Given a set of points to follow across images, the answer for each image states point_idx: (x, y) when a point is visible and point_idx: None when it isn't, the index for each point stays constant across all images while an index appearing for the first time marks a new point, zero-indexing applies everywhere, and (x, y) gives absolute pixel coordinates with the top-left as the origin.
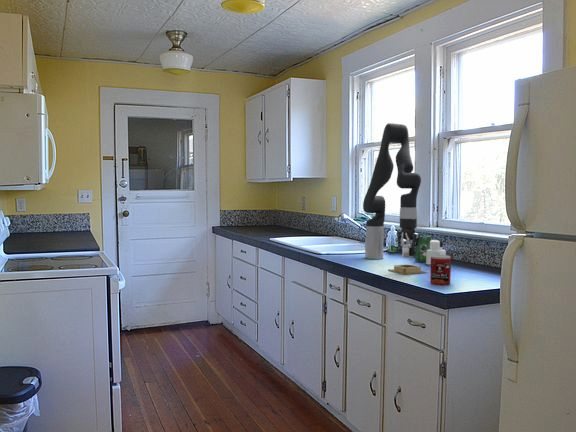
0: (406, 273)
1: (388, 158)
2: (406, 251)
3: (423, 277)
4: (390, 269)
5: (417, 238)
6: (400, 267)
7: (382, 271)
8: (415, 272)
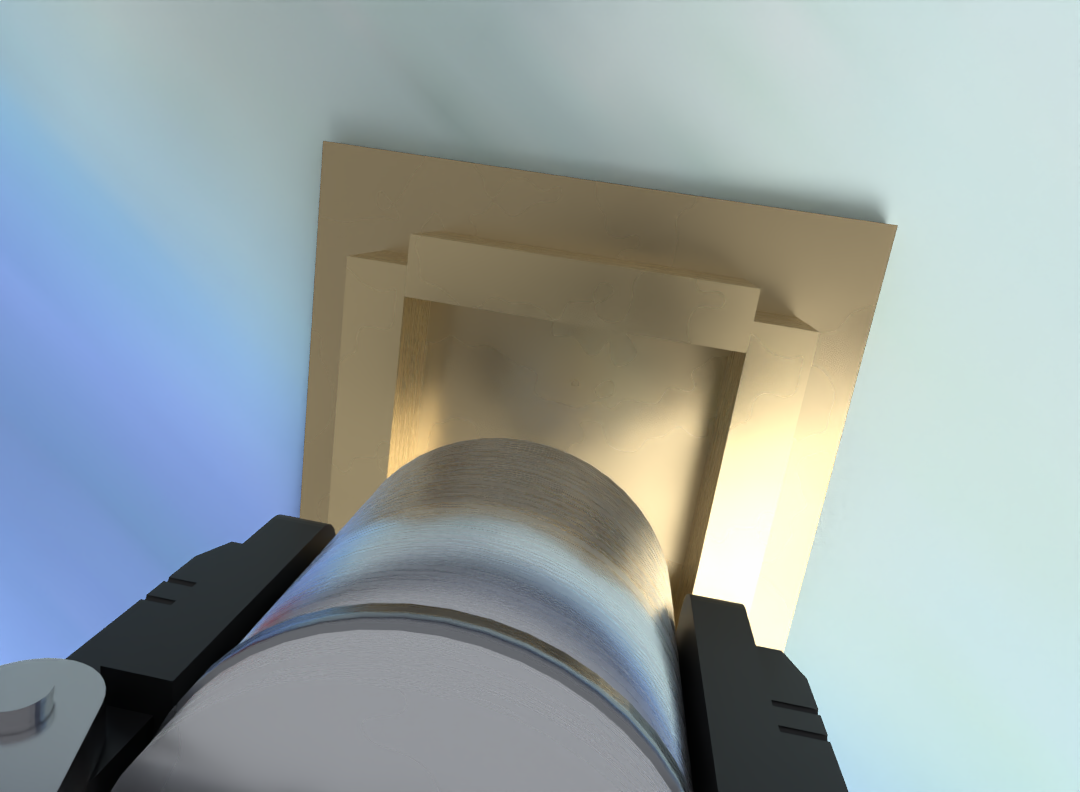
0: (322, 193)
1: None
2: (343, 535)
3: (6, 255)
4: (864, 264)
5: None
6: (530, 253)
7: (917, 44)
8: (321, 417)
